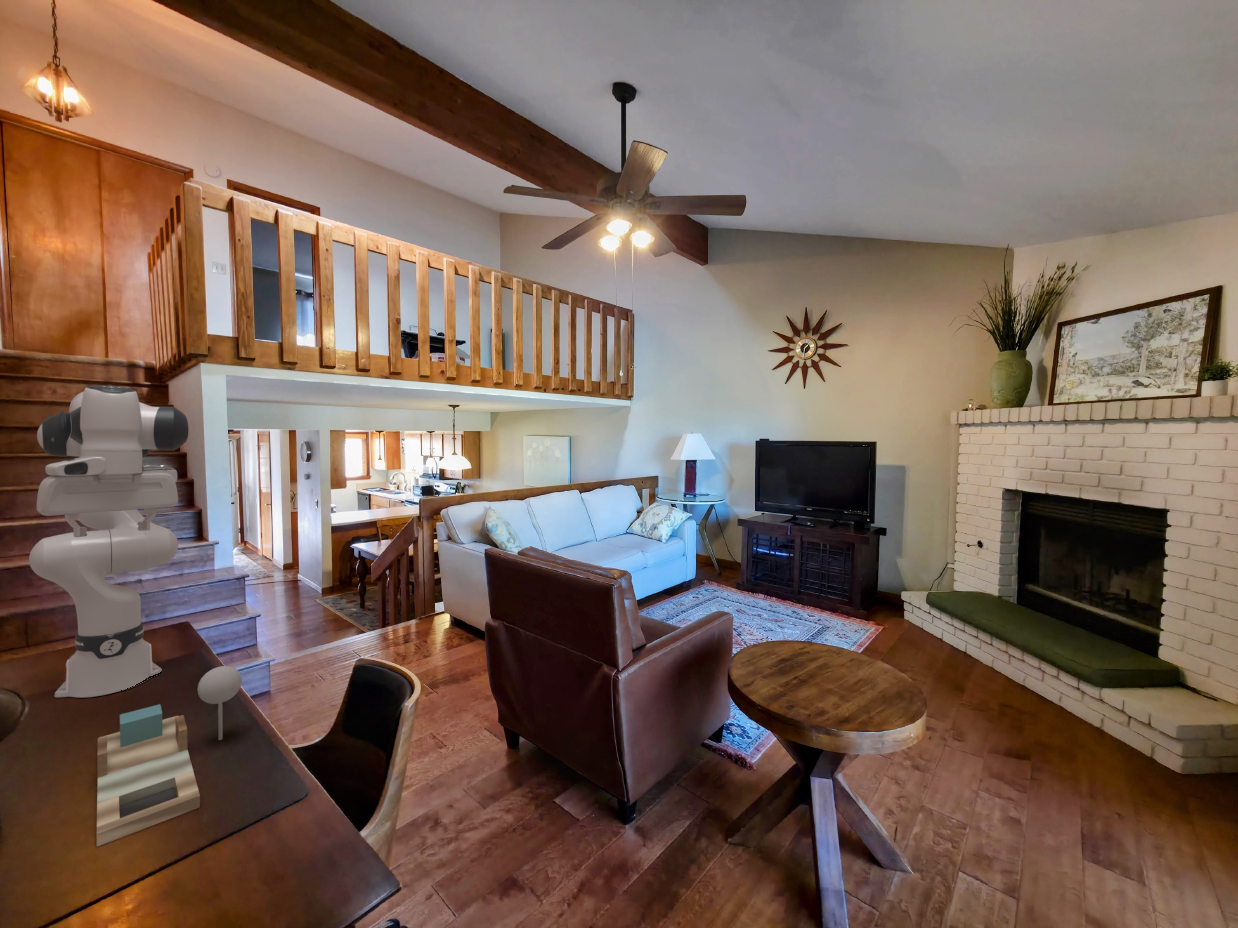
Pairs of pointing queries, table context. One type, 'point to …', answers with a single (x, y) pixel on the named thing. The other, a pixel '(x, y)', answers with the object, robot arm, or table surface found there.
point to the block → (140, 725)
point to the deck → (144, 781)
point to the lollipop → (219, 689)
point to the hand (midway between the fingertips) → (113, 533)
